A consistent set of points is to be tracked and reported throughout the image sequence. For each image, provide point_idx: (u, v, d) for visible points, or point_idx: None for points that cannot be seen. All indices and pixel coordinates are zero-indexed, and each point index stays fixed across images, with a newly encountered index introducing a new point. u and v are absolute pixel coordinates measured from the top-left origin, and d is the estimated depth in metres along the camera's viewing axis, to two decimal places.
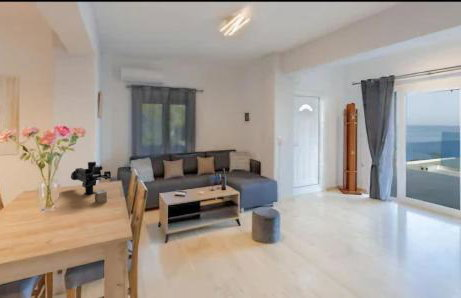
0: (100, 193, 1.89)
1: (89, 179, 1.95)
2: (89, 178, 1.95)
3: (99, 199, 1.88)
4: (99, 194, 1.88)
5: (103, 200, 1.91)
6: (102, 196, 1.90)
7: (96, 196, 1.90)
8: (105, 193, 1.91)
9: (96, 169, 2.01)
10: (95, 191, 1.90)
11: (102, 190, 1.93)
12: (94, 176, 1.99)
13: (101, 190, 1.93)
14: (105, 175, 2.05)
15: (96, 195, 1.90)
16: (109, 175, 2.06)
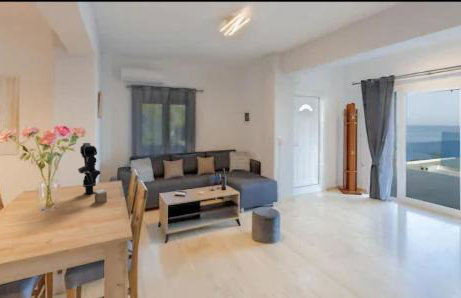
0: (100, 193, 1.89)
1: None
2: None
3: (99, 199, 1.88)
4: (99, 194, 1.88)
5: (103, 200, 1.91)
6: (102, 196, 1.90)
7: (96, 196, 1.90)
8: (105, 193, 1.91)
9: None
10: (95, 191, 1.90)
11: (102, 190, 1.93)
12: None
13: (101, 190, 1.93)
14: None
15: (96, 195, 1.90)
16: (94, 175, 1.96)
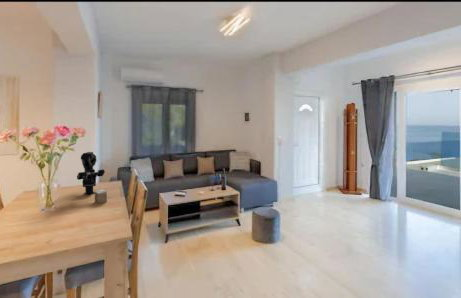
0: (100, 193, 1.89)
1: (96, 175, 2.01)
2: (95, 175, 2.01)
3: (99, 199, 1.88)
4: (99, 194, 1.88)
5: (103, 200, 1.91)
6: (102, 196, 1.90)
7: (96, 196, 1.90)
8: (105, 193, 1.92)
9: None
10: (95, 191, 1.90)
11: (102, 190, 1.93)
12: None
13: (101, 190, 1.93)
14: (84, 176, 1.95)
15: (96, 195, 1.90)
16: (87, 177, 1.96)
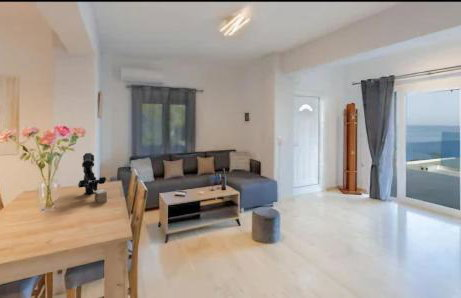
0: (100, 193, 1.89)
1: None
2: (97, 183, 2.00)
3: (99, 199, 1.88)
4: (99, 194, 1.88)
5: (103, 200, 1.91)
6: (102, 196, 1.90)
7: (96, 196, 1.90)
8: (105, 193, 1.91)
9: None
10: (95, 191, 1.90)
11: (102, 190, 1.93)
12: None
13: (101, 190, 1.93)
14: (85, 184, 1.95)
15: (96, 195, 1.90)
16: (88, 185, 1.95)
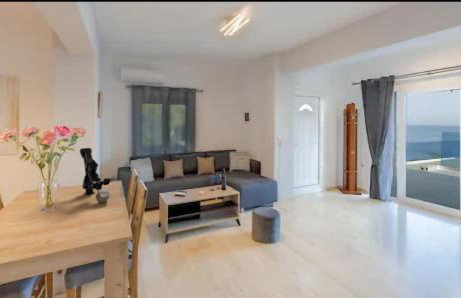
0: (103, 196, 1.86)
1: None
2: (101, 184, 1.95)
3: (100, 200, 1.87)
4: (102, 197, 1.86)
5: (104, 201, 1.90)
6: (104, 198, 1.88)
7: (98, 196, 1.87)
8: (108, 196, 1.89)
9: None
10: (99, 191, 1.86)
11: (106, 191, 1.90)
12: None
13: (105, 190, 1.89)
14: (89, 185, 1.90)
15: (99, 195, 1.87)
16: (92, 186, 1.90)
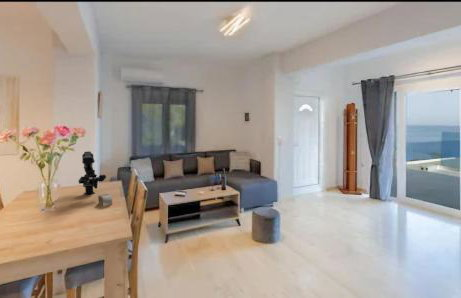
0: None
1: (97, 180, 2.00)
2: None
3: None
4: None
5: None
6: None
7: (101, 200, 1.85)
8: None
9: None
10: (103, 199, 1.83)
11: (110, 199, 1.87)
12: None
13: (109, 198, 1.86)
14: (86, 180, 1.94)
15: (101, 201, 1.85)
16: (89, 181, 1.95)
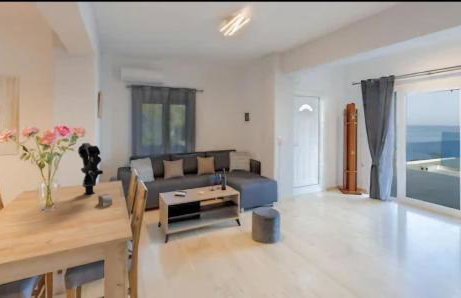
0: None
1: None
2: None
3: None
4: None
5: None
6: None
7: (101, 200, 1.85)
8: None
9: None
10: (103, 199, 1.83)
11: (110, 199, 1.87)
12: None
13: (109, 198, 1.86)
14: None
15: (101, 201, 1.85)
16: (95, 174, 1.99)
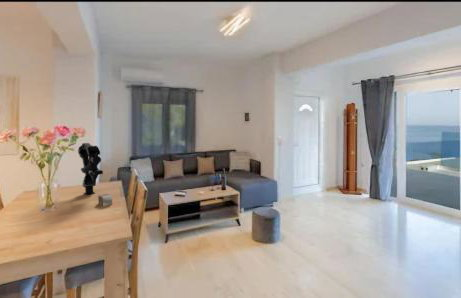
0: None
1: None
2: None
3: None
4: None
5: None
6: None
7: (101, 200, 1.85)
8: None
9: None
10: (103, 199, 1.83)
11: (110, 199, 1.87)
12: None
13: (109, 198, 1.86)
14: None
15: (101, 201, 1.85)
16: (95, 174, 1.99)
